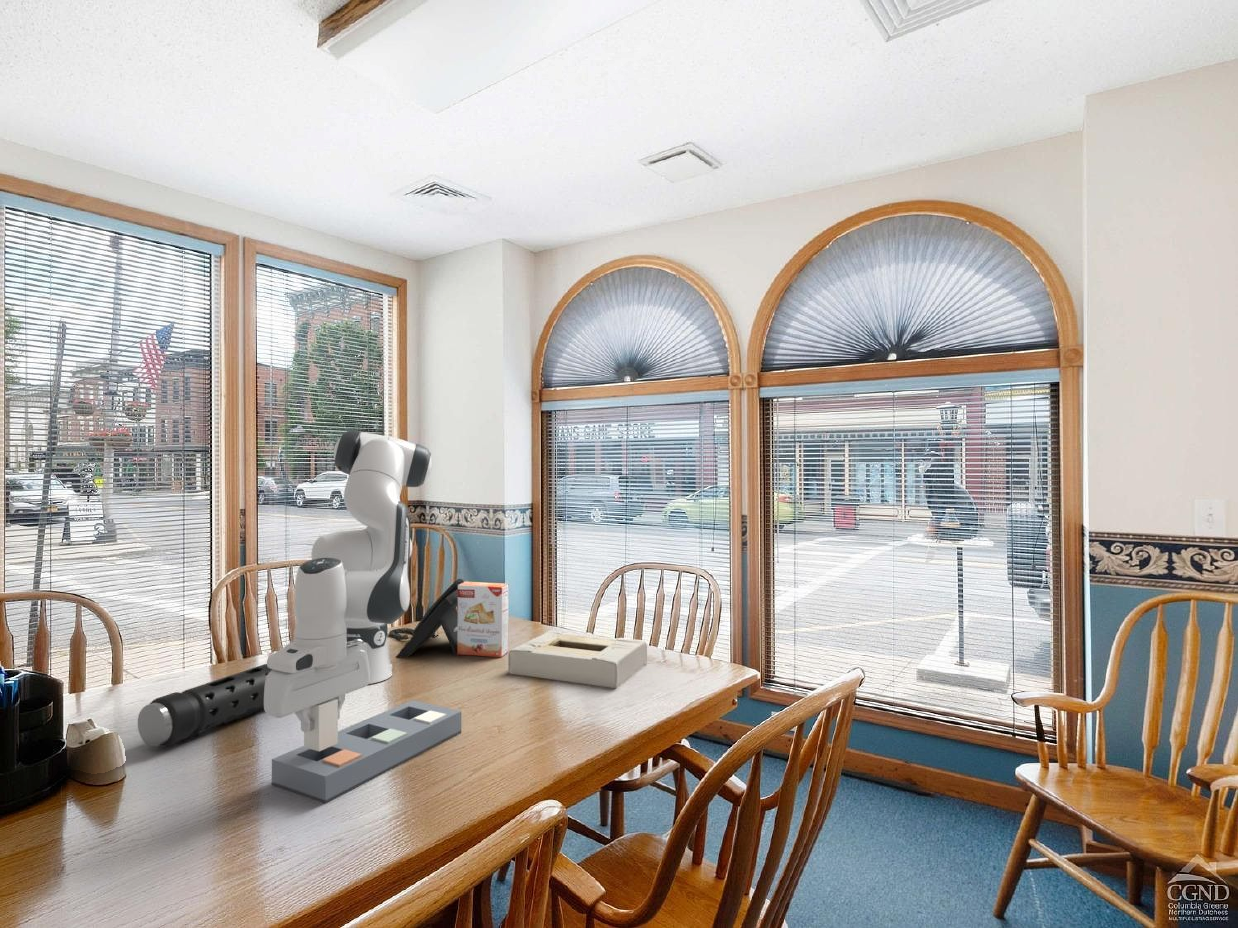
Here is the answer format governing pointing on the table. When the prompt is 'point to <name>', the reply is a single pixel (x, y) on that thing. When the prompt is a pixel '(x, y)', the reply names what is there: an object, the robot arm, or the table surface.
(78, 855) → the table surface
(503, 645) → the cracker box
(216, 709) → the muzzle brake
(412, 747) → the socket block
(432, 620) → the office phone
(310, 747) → the plug
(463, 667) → the table surface
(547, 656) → the box
